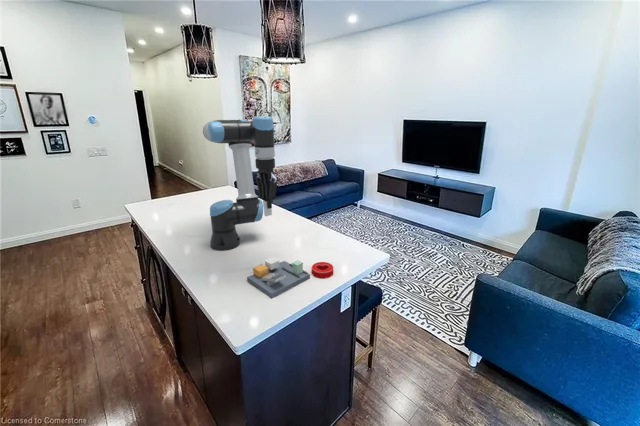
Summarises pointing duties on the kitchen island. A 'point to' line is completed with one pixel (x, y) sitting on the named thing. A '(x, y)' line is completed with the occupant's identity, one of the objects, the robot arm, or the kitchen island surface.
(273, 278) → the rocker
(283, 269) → the panel
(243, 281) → the kitchen island surface
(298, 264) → the pale green block
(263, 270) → the button
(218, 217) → the robot arm
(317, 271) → the decorative ornament
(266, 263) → the button
